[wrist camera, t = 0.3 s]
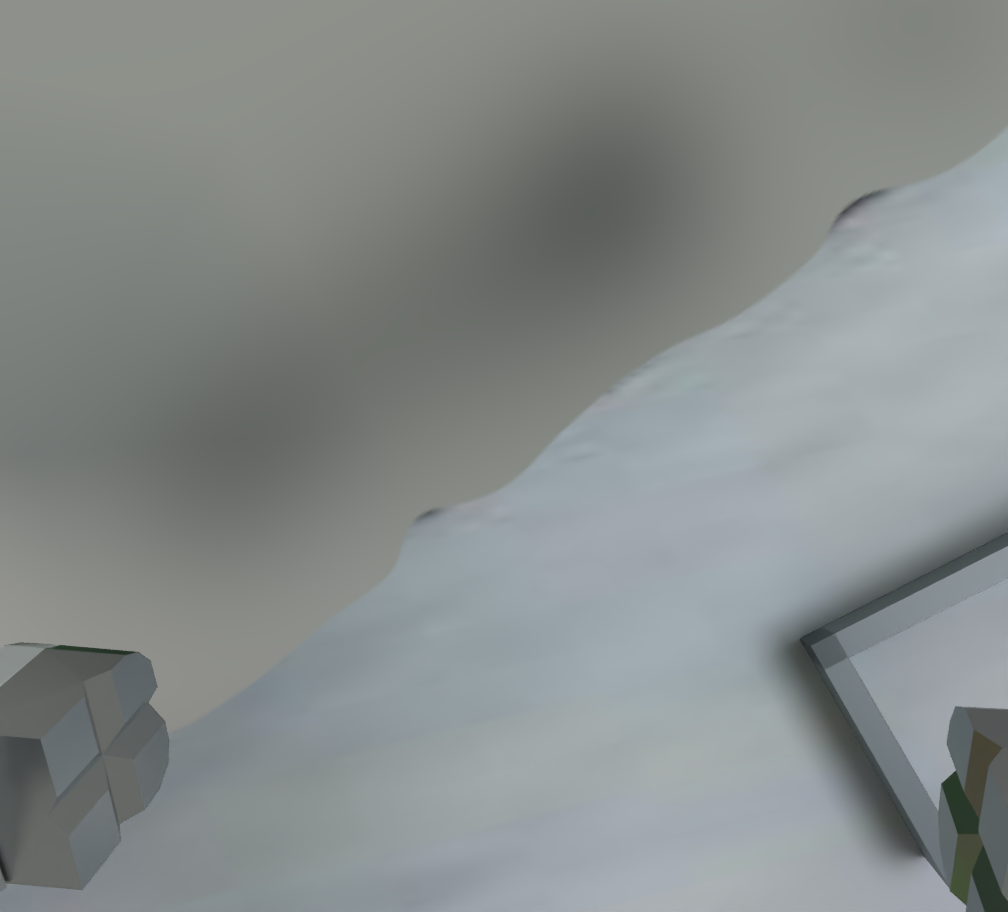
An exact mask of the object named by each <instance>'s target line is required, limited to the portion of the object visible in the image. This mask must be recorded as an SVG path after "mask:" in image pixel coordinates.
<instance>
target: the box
mask: <svg viewBox="0 0 1008 912" xmlns="http://www.w3.org/2000/svg"><path fill="white" fill-rule="evenodd" d="M1007 578H1008V533H1007V534H1005V535H1003V536H1001V537H999V538H997V539H995V540H993V541H991V542H989V543H987V544H985V545H983V546H981V547H979V548H977V549H975V550H973V551H971V552H969V553H967V554H965V555H963V556H961V557H959V558H957V559H955V560H953V561H951V562H949V563H948V564H946V565H944V566H942V567H940V568H938V569H936V570H934V571H932V572H930V573H928V574H926V575H924V576H922V577H920V578H918V579H916V580H914V581H912V582H910V583H908V584H906V585H904V586H902V587H900V588H898V589H896V590H894V591H892V592H890V593H888V594H886V595H885V596H883V597H881V598H879V599H877V600H875V601H873V602H871V603H869V604H867V605H865V606H863V607H861V608H859V609H857V610H855V611H853V612H851V613H849V614H847V615H845V616H843V617H841V618H839V619H837V620H835V621H833V622H831V623H829V624H827V625H825V626H823V627H821V628H820V629H818V630H816V631H814V632H812V633H810V634H808V635H806V636H804V637H802V638H800V640H801V641H802V643H803V645H804V647H805V648H806V650H807V652H808V654H809V655H810V657H811V659H812V661H813V662H814V664H815V666H816V668H817V669H818V671H819V673H820V675H821V676H822V678H823V680H824V682H825V683H826V685H827V687H828V689H829V690H830V692H831V694H832V696H833V697H834V699H835V701H836V703H837V704H838V706H839V708H840V710H841V711H842V713H843V715H844V717H845V718H846V720H847V722H848V724H849V725H850V727H851V729H852V731H853V732H854V734H855V736H856V738H857V739H858V741H859V743H860V745H861V746H862V748H863V750H864V752H865V753H866V755H867V757H868V759H869V760H870V762H871V764H872V766H873V767H874V769H875V771H876V773H877V774H878V776H879V778H880V780H881V781H882V783H883V785H884V787H885V788H886V790H887V792H888V794H889V795H890V797H891V799H892V801H893V802H894V804H895V806H896V808H897V809H898V811H899V813H900V815H901V816H902V818H903V820H904V822H905V823H906V825H907V827H908V829H909V830H910V832H911V834H912V836H913V837H914V839H915V841H916V843H917V844H918V846H919V848H920V850H921V851H922V853H923V855H924V857H925V858H926V859H927V861H928V862H929V863H930V864H931V866H932V867H933V868H934V869H935V871H936V872H937V873H938V875H939V876H940V877H941V878H942V880H943V881H944V882H945V883H946V885H947V886H948V882H947V879H946V875H945V872H944V868H943V863H942V857H941V852H940V846H939V824H938V811H937V809H936V807H935V806H934V804H933V802H932V801H931V799H930V797H929V795H928V794H927V792H926V790H925V788H924V787H923V785H922V783H921V782H920V780H919V778H918V776H917V775H916V773H915V771H914V769H913V768H912V766H911V764H910V763H909V761H908V759H907V757H906V756H905V754H904V752H903V751H902V749H901V747H900V745H899V744H898V742H897V740H896V738H895V737H894V735H893V733H892V732H891V730H890V728H889V726H888V725H887V723H886V721H885V720H884V718H883V716H882V714H881V713H880V711H879V709H878V707H877V706H876V704H875V702H874V701H873V699H872V697H871V695H870V694H869V692H868V690H867V688H866V687H865V685H864V683H863V682H862V680H861V678H860V676H859V675H858V673H857V671H856V670H855V668H854V666H853V664H852V663H851V661H850V659H849V657H851V656H853V655H855V654H857V653H859V652H861V651H863V650H865V649H867V648H869V647H871V646H873V645H875V644H877V643H879V642H881V641H883V640H885V639H887V638H889V637H891V636H893V635H895V634H897V633H899V632H901V631H903V630H905V629H907V628H909V627H911V626H913V625H915V624H917V623H919V622H921V621H923V620H925V619H927V618H929V617H931V616H933V615H935V614H937V613H939V612H941V611H943V610H945V609H947V608H949V607H951V606H953V605H955V604H957V603H959V602H961V601H963V600H965V599H967V598H969V597H971V596H973V595H975V594H977V593H979V592H981V591H983V590H985V589H987V588H989V587H991V586H993V585H995V584H997V583H999V582H1001V581H1003V580H1005V579H1007ZM948 887H949V886H948Z"/></svg>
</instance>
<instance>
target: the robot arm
mask: <svg viewBox="0 0 1008 912" xmlns="http://www.w3.org/2000/svg"><path fill="white" fill-rule="evenodd" d="M156 688H157V683H156V679H155V676H154V672H153V668H152V664H151V661H150V660H149V659H148V658H146V657H145V656H143V655H142V654H141V653H139V652H133V651H122V650H110V649H99V648H88V647H75V646H65V645H59V646H56V645H52V644H38V643H15V644H10V645H5V646H4V647H2V648H1V649H0V891H2V890H3V889H5V888H6V883H10V884H21V885H32V886H44V887H55V888H66V889H77V890H83V889H84V888H85V886H86V885H87V884H88V883H89V881H90V880H91V879H92V877H93V876H94V875H95V873H96V872H97V871H98V870H99V868H100V867H101V866H102V864H103V863H104V862H105V861H106V859H107V858H108V857H109V855H110V854H111V853H112V852H113V850H114V849H115V848H116V846H117V845H118V844H119V842H120V841H121V836H120V823H122V822H123V821H125V820H127V819H129V818H130V817H132V816H134V815H136V814H138V813H139V812H141V811H143V810H145V809H146V807H147V806H148V804H149V803H150V802H151V800H152V799H153V798H154V796H155V795H156V793H157V792H158V791H159V789H160V786H161V783H162V780H163V777H164V774H165V771H166V768H167V765H168V760H169V738H168V733H167V728H166V723H165V721H164V720H163V718H162V717H161V716H160V715H159V714H158V713H157V712H156V711H155V710H154V708H153V707H152V706H151V705H150V704H149V701H150V699H151V697H152V695H153V694H154V692H155V690H156ZM947 746H948V749H949V752H950V755H951V758H952V760H953V763H954V766H955V769H956V771H955V772H954V773H953V774H952V775H950V776H949V777H948V778H947V779H946V780H945V781H944V782H943V783H942V784H941V791H940V801H939V811H938V824H939V846H940V852H941V857H942V863H943V868H944V872H945V875H946V879H947V882H948V886H949V889H950V891H951V892H952V893H953V894H954V895H955V896H956V897H957V898H958V899H960V900H961V901H962V902H963V903H964V904H965V905H966V906H967V907H966V912H1008V709H996V708H976V707H957V706H955V709H954V712H953V714H952V717H951V720H950V725H949V731H948V738H947Z"/></svg>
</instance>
